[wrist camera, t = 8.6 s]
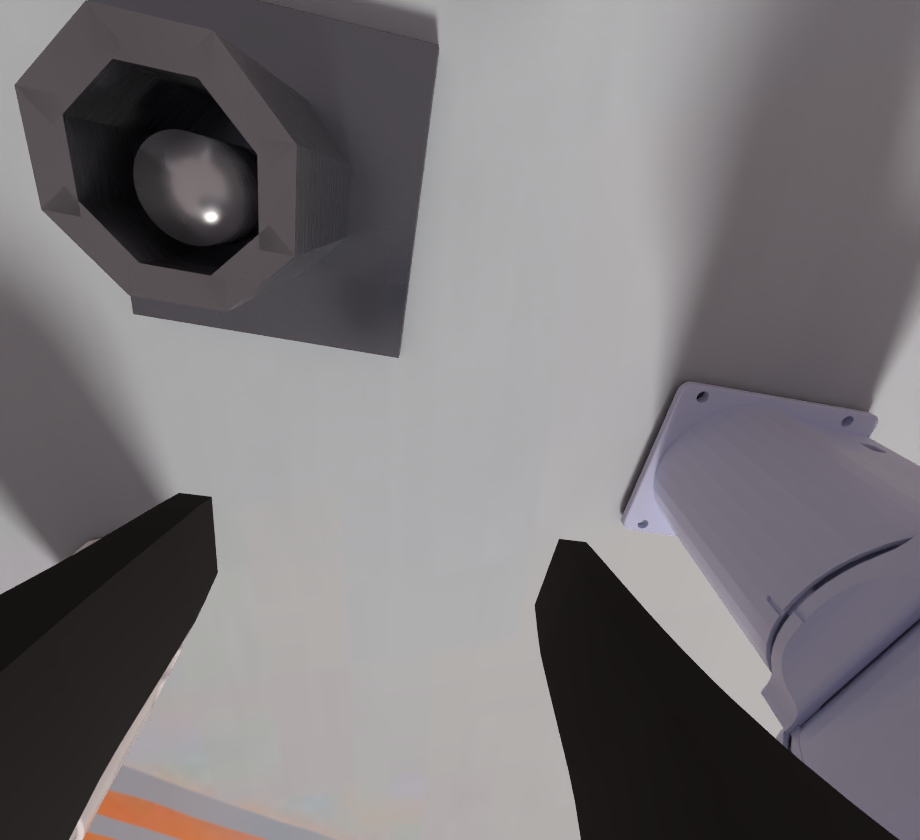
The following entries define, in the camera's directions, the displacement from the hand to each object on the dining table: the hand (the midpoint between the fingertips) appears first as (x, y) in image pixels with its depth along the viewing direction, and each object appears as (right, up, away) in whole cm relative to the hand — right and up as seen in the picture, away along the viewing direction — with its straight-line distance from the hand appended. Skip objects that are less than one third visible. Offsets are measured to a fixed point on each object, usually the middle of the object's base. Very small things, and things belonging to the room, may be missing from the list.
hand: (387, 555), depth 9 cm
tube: (-5, +11, +5) cm, 13 cm away
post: (-5, +11, +6) cm, 13 cm away
